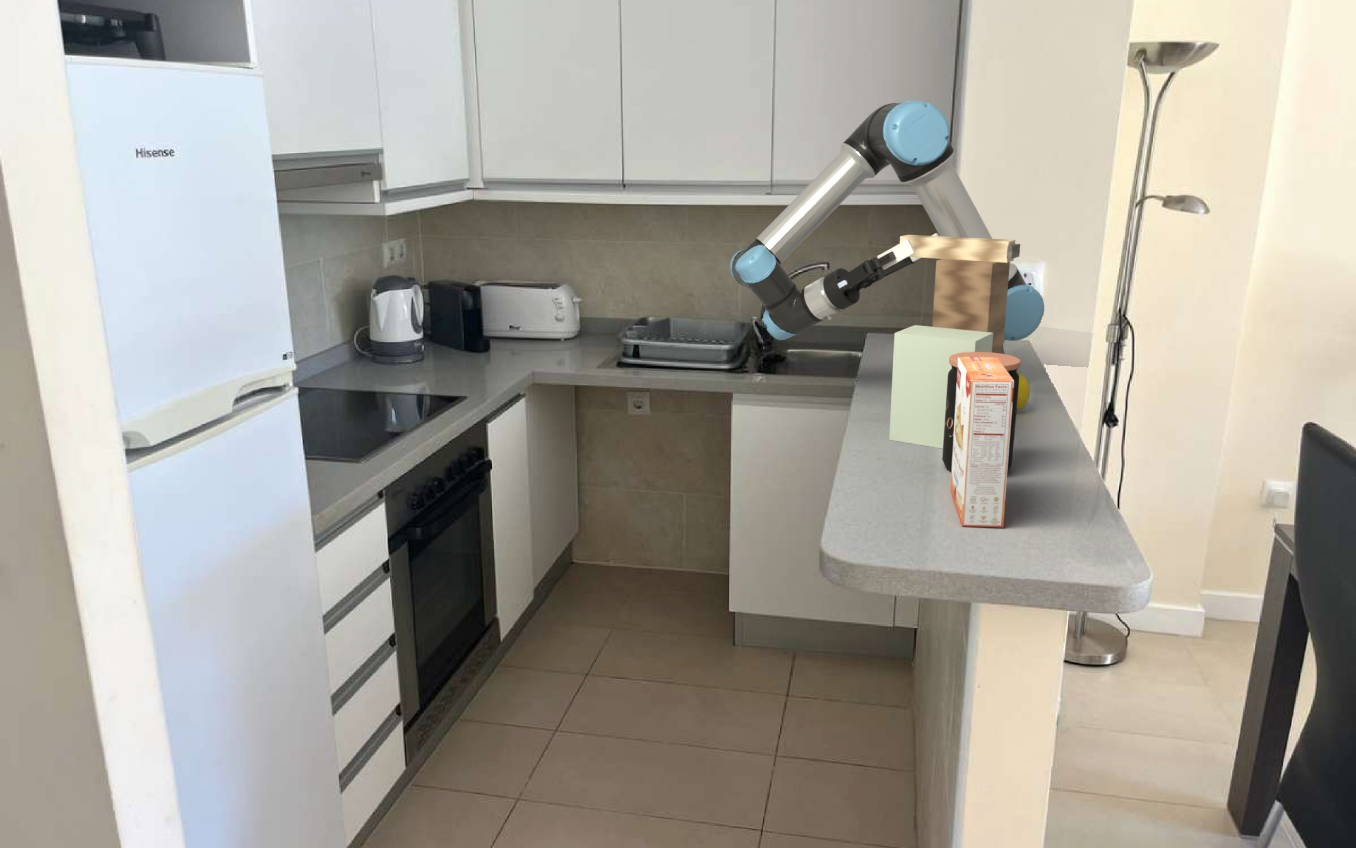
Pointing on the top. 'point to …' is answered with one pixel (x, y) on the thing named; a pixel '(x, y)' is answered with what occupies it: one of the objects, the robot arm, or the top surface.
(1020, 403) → the lemon
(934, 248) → the light wooden bar
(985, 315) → the stand
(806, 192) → the robot arm
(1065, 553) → the top surface
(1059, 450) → the top surface
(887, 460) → the top surface
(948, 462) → the coffee jar
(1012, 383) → the cracker box
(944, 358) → the pale green rectangular prism
